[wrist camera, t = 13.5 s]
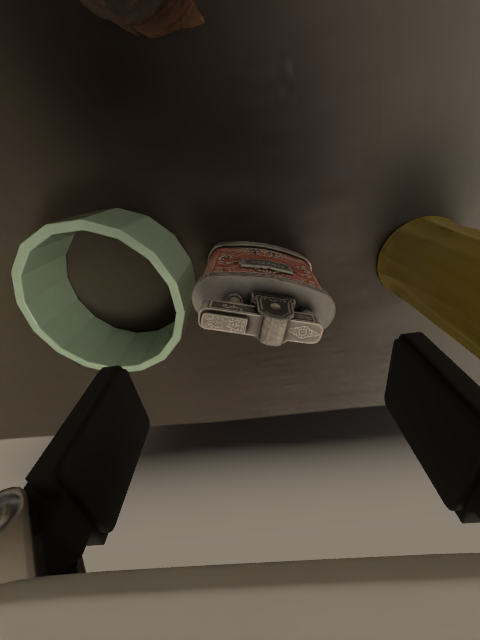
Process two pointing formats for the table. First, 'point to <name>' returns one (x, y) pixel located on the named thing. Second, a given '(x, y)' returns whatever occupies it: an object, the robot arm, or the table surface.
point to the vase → (437, 274)
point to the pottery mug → (147, 15)
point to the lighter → (262, 294)
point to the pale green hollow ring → (73, 317)
